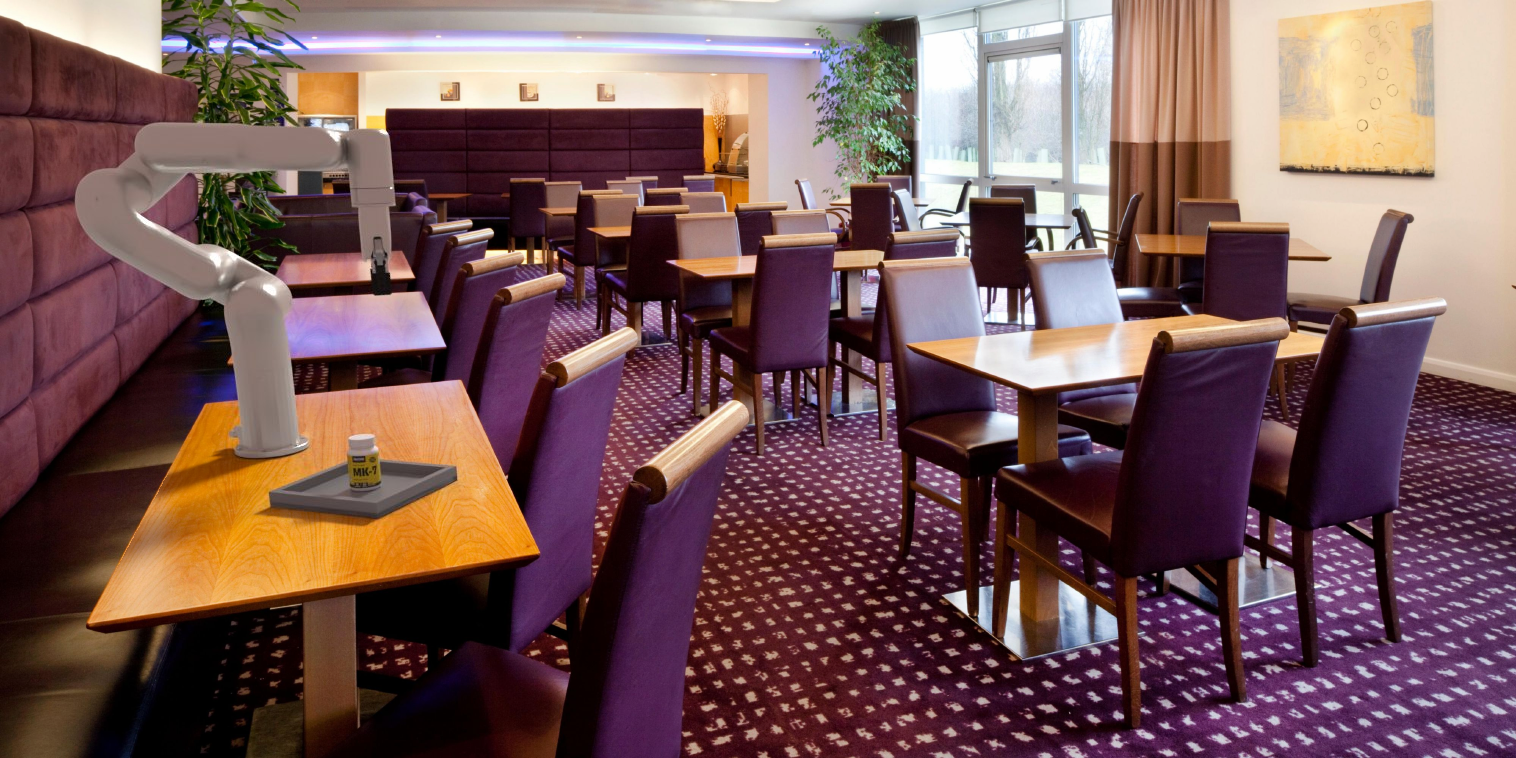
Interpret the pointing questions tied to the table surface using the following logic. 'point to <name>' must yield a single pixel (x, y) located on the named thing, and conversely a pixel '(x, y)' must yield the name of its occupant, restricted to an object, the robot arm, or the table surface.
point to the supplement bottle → (363, 463)
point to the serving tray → (336, 497)
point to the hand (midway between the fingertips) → (381, 292)
